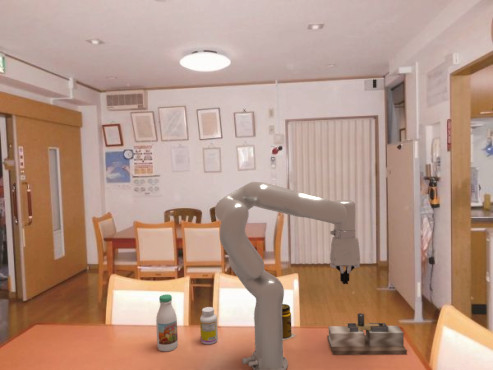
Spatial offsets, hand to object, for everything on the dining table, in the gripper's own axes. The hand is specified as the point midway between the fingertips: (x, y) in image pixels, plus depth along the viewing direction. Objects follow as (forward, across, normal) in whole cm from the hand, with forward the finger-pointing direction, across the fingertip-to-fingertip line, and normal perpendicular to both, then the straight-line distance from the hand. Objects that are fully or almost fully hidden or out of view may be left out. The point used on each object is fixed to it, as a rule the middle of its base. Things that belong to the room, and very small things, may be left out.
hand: (344, 283), depth 139 cm
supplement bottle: (+25, -52, +6) cm, 58 cm away
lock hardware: (+18, +8, 0) cm, 20 cm away
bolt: (+17, +9, 0) cm, 19 cm away
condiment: (+25, -23, +10) cm, 35 cm away
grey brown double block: (+24, +8, 0) cm, 25 cm away
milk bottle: (+25, -67, +1) cm, 72 cm away
